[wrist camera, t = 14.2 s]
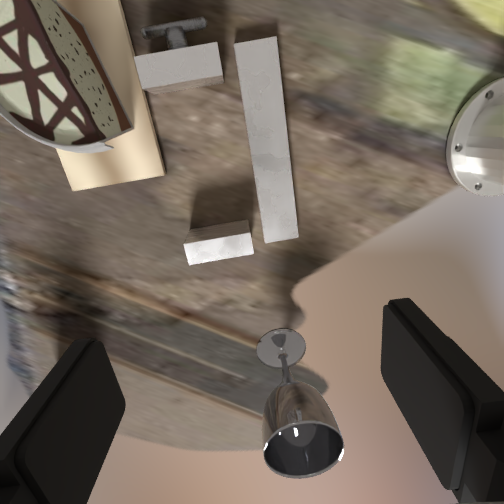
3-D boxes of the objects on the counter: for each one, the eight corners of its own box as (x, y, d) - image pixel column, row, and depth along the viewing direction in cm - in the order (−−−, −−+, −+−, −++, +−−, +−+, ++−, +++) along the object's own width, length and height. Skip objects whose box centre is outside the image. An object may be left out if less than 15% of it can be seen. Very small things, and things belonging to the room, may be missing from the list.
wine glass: (294, 317, 42) (325, 410, 28) (317, 356, 45) (356, 460, 31) (243, 341, 43) (249, 443, 29) (269, 378, 46) (285, 488, 32)
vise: (271, 13, 29) (278, -9, 24) (296, 233, 37) (305, 248, 33) (140, 37, 29) (123, 19, 24) (195, 251, 37) (189, 268, 33)
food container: (12, 32, 27) (-100, -17, 18) (74, 4, 27) (-9, -61, 18) (88, 165, 32) (29, 180, 23) (141, 143, 31) (104, 150, 22)
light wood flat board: (111, -33, 27) (107, -39, 26) (166, 173, 34) (164, 175, 33) (-1, -13, 27) (-9, -18, 26) (77, 189, 34) (72, 191, 33)
